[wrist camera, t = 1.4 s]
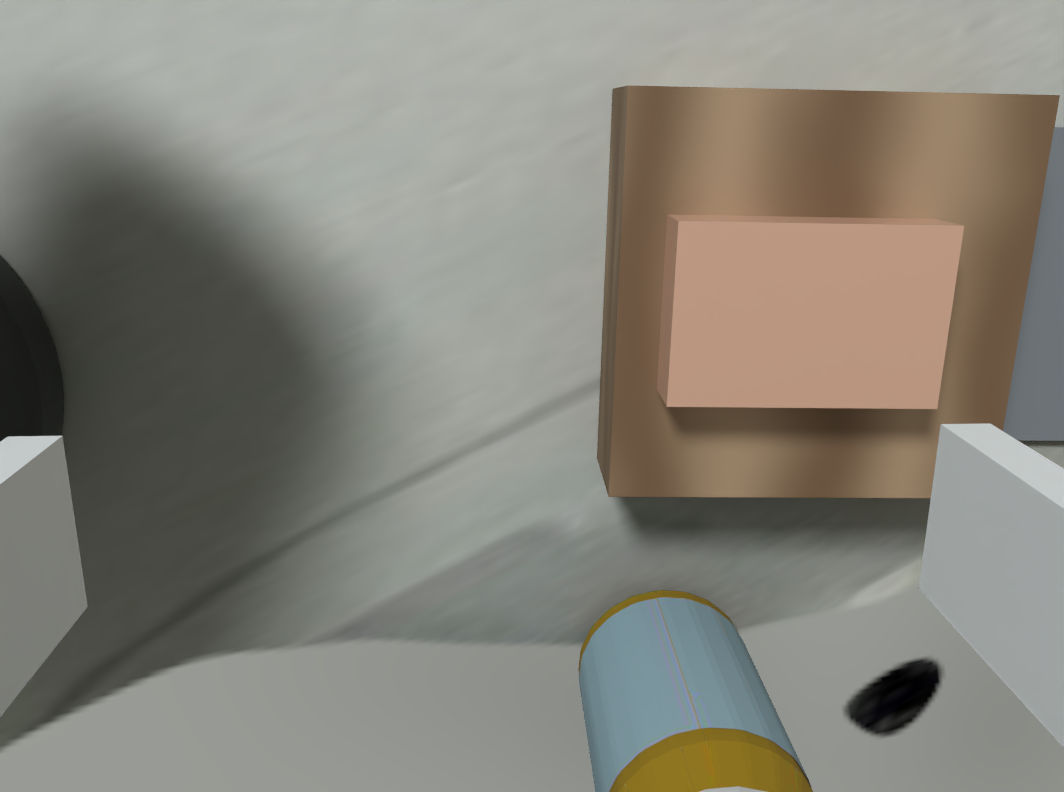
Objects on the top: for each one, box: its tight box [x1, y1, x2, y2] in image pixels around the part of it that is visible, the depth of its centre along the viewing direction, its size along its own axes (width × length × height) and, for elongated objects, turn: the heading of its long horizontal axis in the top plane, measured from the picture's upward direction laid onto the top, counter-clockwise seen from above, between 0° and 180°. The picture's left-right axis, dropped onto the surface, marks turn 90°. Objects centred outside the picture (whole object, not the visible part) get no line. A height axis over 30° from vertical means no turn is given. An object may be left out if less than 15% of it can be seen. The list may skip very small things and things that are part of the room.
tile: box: [657, 215, 964, 409], centre depth 31 cm, size 9×6×2 cm, turn 89°
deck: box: [597, 86, 1060, 498], centre depth 34 cm, size 14×14×4 cm
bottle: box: [579, 590, 813, 792], centre depth 33 cm, size 7×7×15 cm
